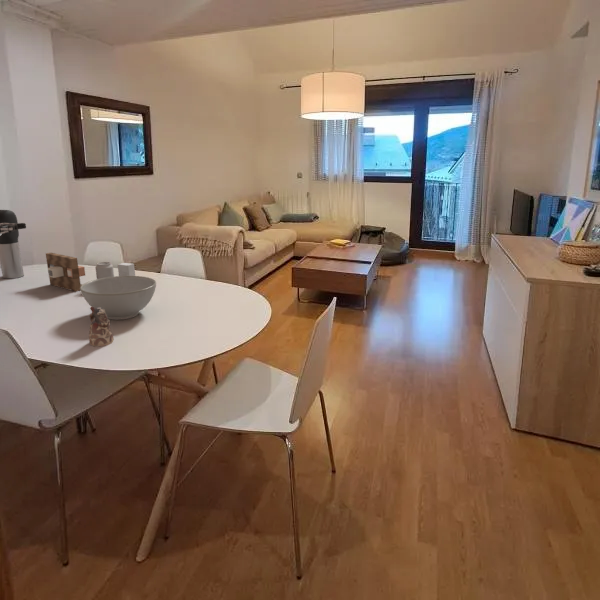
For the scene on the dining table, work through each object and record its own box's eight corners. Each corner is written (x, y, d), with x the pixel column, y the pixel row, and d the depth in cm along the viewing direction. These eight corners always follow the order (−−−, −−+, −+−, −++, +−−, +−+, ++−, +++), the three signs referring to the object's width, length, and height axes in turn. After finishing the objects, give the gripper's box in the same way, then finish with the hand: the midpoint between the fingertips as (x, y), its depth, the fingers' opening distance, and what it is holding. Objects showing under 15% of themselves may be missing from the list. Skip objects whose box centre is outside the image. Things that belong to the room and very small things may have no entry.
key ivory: (48, 276, 205) (46, 268, 204) (61, 274, 210) (60, 265, 209) (53, 278, 203) (51, 269, 202) (66, 275, 208) (65, 266, 207)
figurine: (100, 347, 143) (96, 311, 140) (84, 344, 146) (79, 308, 142) (118, 340, 149) (114, 305, 146) (102, 336, 152) (98, 302, 149)
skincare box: (136, 288, 210) (134, 263, 206) (130, 291, 206) (128, 265, 202) (126, 287, 212) (123, 262, 208) (119, 289, 208) (117, 264, 204)
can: (118, 286, 214) (115, 261, 210) (110, 290, 206) (107, 264, 203) (103, 285, 214) (100, 260, 211) (94, 290, 207) (91, 264, 204)
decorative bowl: (170, 306, 184) (168, 278, 181) (134, 329, 159) (131, 296, 156) (112, 301, 190) (108, 273, 186) (67, 322, 165) (63, 290, 161)
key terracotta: (67, 276, 205) (65, 268, 204) (80, 274, 211) (79, 265, 209) (72, 278, 203) (71, 269, 202) (85, 275, 208) (84, 266, 207)
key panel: (50, 284, 215) (45, 253, 211) (63, 281, 220) (59, 251, 216) (76, 291, 204) (71, 258, 200) (89, 288, 210) (85, 256, 205)
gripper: (-27, 238, 182) (18, 233, 196) (-11, 241, 175) (34, 235, 189) (-31, 219, 180) (15, 215, 194) (-15, 221, 173) (31, 217, 187)
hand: (24, 225), depth 191 cm, fingers closed
